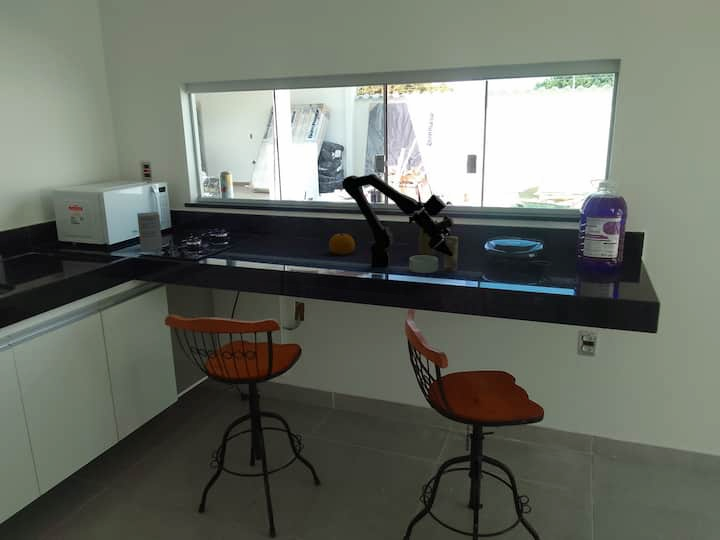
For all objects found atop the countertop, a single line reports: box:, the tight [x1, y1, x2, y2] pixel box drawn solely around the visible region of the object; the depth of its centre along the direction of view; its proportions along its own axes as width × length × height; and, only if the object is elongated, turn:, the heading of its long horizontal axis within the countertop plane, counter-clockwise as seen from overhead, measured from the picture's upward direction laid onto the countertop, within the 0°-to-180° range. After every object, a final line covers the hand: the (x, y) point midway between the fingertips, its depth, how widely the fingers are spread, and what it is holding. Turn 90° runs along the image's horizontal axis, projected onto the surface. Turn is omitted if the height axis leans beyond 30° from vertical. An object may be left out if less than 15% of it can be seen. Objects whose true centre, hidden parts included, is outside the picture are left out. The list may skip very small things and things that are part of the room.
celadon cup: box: [408, 254, 439, 274], centre depth 219 cm, size 11×11×4 cm
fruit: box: [328, 231, 356, 256], centre depth 248 cm, size 12×12×10 cm
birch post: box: [443, 235, 459, 272], centre depth 217 cm, size 5×5×13 cm
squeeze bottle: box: [417, 213, 436, 256], centre depth 242 cm, size 8×8×18 cm
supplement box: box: [136, 211, 164, 252], centre depth 259 cm, size 10×9×17 cm
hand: (454, 253), depth 216 cm, fingers open, 9 cm apart
